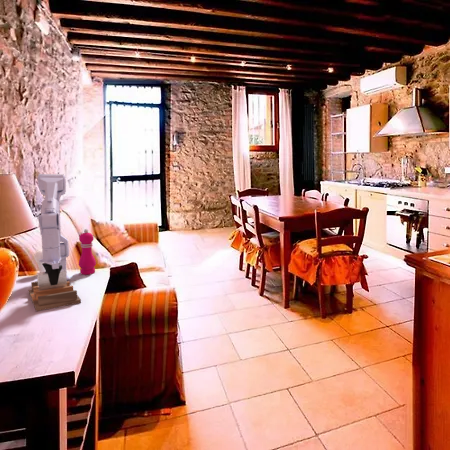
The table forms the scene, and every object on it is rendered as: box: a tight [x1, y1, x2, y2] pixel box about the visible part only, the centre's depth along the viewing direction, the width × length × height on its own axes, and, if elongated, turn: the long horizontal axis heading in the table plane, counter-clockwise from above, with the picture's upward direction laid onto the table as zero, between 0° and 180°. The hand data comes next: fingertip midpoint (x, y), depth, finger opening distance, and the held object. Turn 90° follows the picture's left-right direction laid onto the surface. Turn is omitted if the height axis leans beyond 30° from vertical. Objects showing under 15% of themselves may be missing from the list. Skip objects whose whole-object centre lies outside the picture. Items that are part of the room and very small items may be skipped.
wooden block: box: [36, 269, 68, 291], centre depth 126 cm, size 9×3×8 cm, turn 125°
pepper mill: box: [78, 228, 97, 276], centre depth 156 cm, size 7×7×20 cm
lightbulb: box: [33, 248, 46, 273], centre depth 153 cm, size 6×6×11 cm
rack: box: [28, 280, 82, 312], centre depth 127 cm, size 20×14×4 cm
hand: (53, 283), depth 126 cm, fingers closed on wooden block, 3 cm apart
